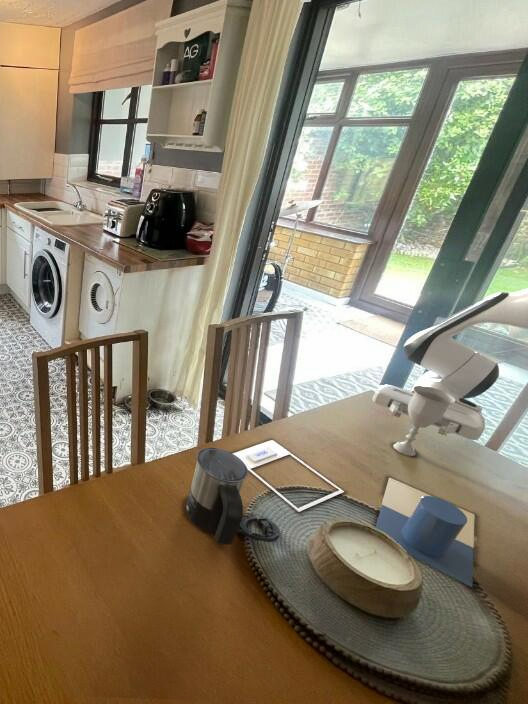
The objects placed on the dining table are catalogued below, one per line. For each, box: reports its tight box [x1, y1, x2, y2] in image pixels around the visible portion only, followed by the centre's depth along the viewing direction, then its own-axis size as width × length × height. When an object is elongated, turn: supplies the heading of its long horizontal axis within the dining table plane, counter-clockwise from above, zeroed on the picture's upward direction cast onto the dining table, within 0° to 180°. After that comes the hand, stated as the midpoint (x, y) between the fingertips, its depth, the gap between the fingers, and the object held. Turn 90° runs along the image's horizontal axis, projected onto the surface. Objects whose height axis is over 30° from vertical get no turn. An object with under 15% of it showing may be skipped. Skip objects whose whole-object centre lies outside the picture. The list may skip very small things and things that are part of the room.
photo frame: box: [232, 439, 345, 513], centre depth 96 cm, size 15×1×18 cm
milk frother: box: [185, 447, 281, 546], centre depth 82 cm, size 14×16×15 cm
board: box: [375, 477, 476, 588], centre depth 84 cm, size 22×14×1 cm, turn 134°
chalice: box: [393, 386, 455, 457], centre depth 100 cm, size 7×7×18 cm
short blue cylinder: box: [402, 495, 467, 557], centre depth 78 cm, size 6×6×9 cm
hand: (419, 422), depth 99 cm, fingers open, 7 cm apart
